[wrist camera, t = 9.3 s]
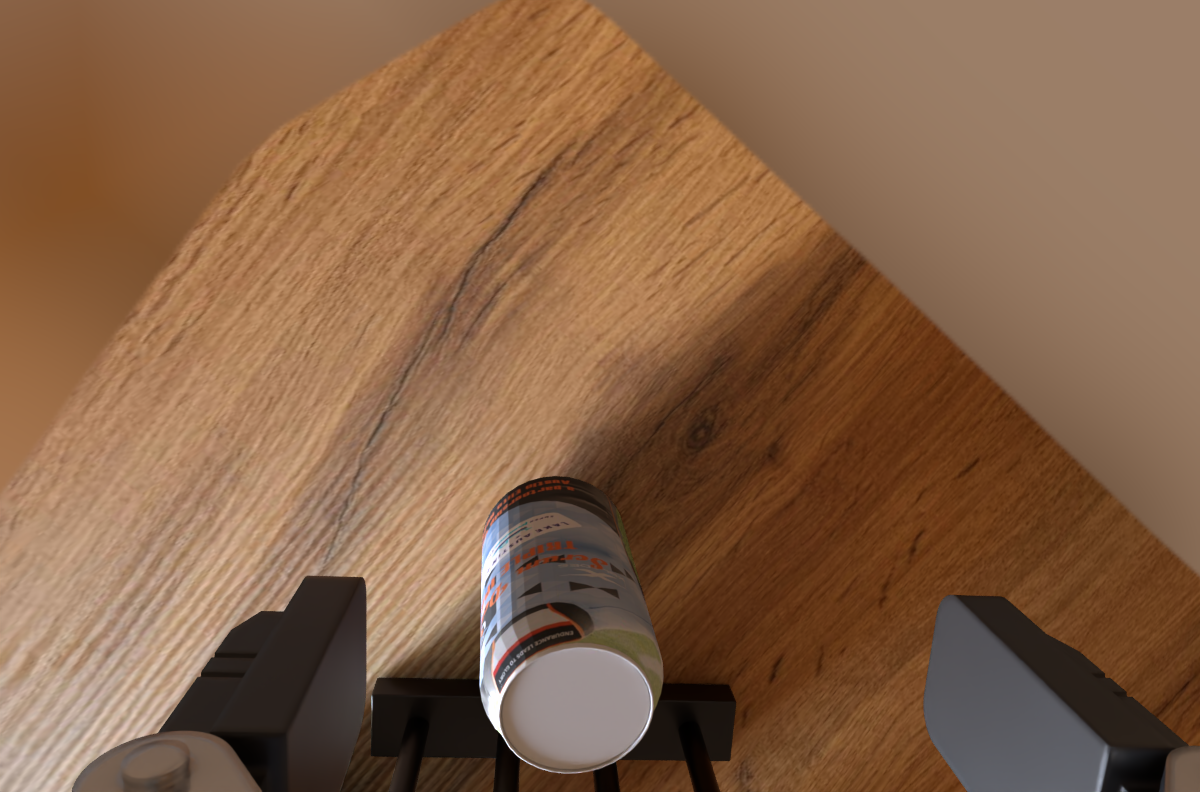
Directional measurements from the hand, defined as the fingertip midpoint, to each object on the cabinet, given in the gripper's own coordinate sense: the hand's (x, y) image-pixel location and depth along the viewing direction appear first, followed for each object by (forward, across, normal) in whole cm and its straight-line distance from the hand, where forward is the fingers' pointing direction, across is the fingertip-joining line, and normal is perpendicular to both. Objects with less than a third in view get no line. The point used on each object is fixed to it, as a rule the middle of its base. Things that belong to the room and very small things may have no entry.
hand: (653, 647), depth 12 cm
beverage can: (+25, 0, +9) cm, 27 cm away
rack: (+25, 0, +17) cm, 30 cm away
